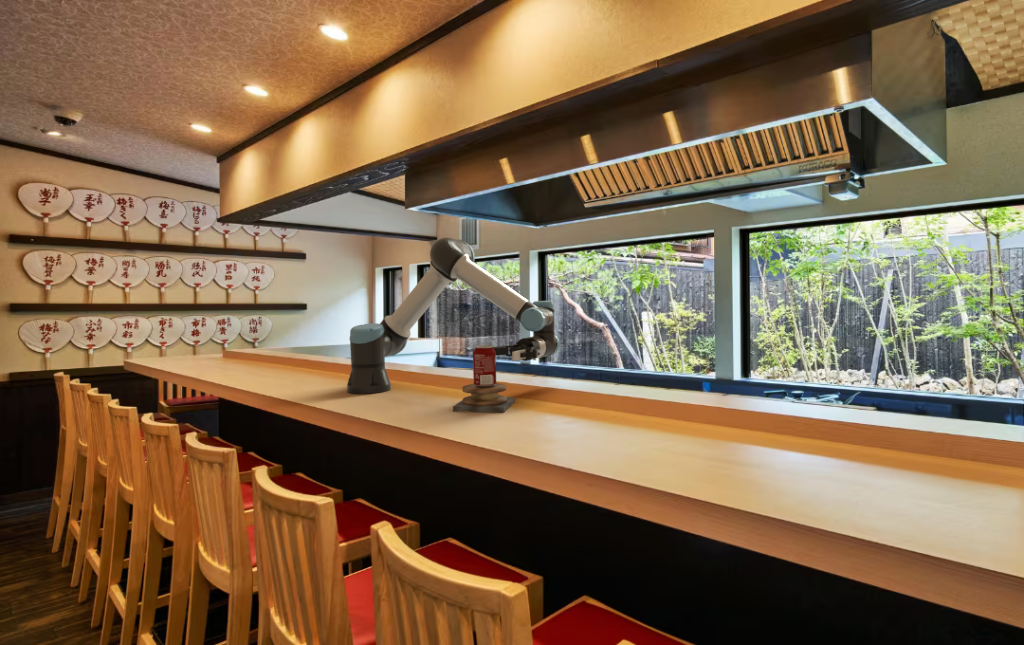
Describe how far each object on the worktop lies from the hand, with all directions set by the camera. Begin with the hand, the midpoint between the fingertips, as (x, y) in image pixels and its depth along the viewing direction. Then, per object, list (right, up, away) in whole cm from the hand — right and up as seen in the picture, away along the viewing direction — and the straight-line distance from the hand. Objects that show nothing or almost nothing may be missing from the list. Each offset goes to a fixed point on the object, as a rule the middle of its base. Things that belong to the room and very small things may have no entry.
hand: (494, 355), depth 170 cm
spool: (-3, -15, -4) cm, 16 cm away
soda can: (-3, -9, -4) cm, 10 cm away
